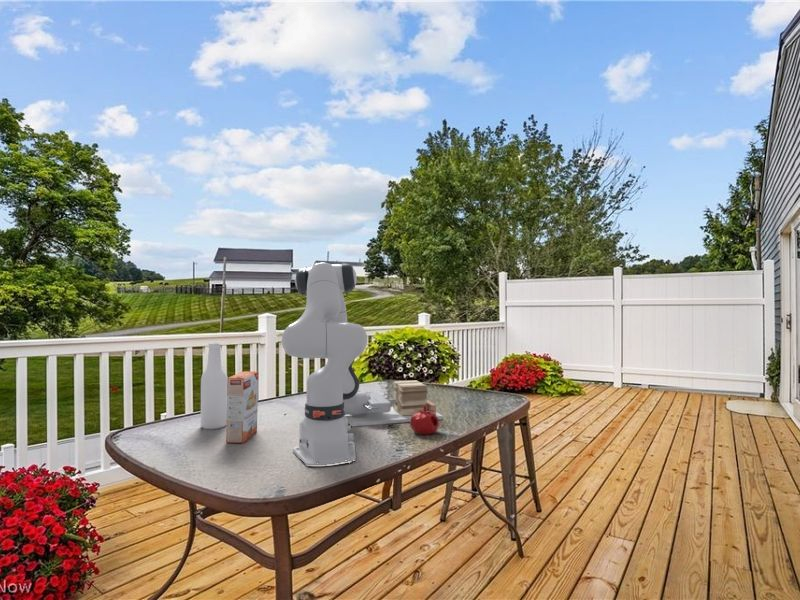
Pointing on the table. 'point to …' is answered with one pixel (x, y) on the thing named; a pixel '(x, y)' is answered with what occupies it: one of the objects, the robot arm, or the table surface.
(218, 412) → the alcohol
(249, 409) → the cracker box
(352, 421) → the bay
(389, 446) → the table surface
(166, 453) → the table surface
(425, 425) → the red apple
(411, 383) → the crate
